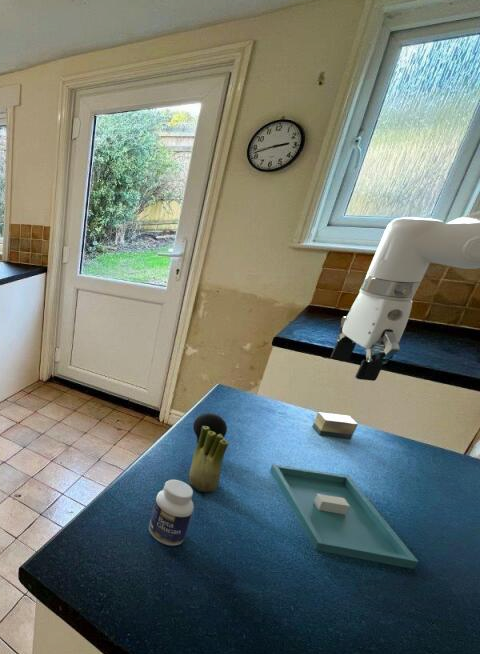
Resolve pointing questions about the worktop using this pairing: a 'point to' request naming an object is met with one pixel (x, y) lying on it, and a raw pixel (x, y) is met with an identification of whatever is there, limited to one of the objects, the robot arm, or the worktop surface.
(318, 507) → the chalk
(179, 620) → the worktop surface
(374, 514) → the tray
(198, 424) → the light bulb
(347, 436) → the eraser
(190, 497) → the pill bottle
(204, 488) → the fennel bulb
